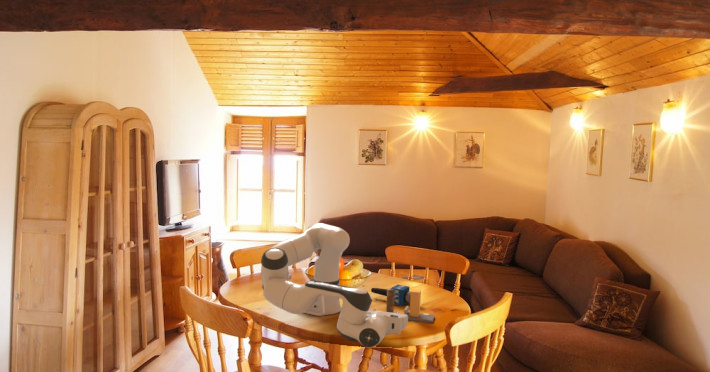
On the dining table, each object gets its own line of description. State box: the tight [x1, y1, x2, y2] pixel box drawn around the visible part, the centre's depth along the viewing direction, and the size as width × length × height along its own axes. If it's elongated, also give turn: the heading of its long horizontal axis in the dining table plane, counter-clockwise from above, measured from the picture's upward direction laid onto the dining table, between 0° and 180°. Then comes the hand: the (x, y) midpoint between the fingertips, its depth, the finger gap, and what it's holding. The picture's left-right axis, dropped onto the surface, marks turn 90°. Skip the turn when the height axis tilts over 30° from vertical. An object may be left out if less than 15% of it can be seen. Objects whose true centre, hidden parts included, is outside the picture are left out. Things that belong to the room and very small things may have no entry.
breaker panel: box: [403, 305, 435, 324], centre depth 221 cm, size 13×8×4 cm, turn 76°
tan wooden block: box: [409, 288, 422, 317], centre depth 221 cm, size 4×4×11 cm
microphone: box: [370, 284, 411, 307], centre depth 243 cm, size 8×8×25 cm
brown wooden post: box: [385, 288, 395, 313], centre depth 213 cm, size 3×3×14 cm
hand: (385, 311), depth 203 cm, fingers open, 8 cm apart
